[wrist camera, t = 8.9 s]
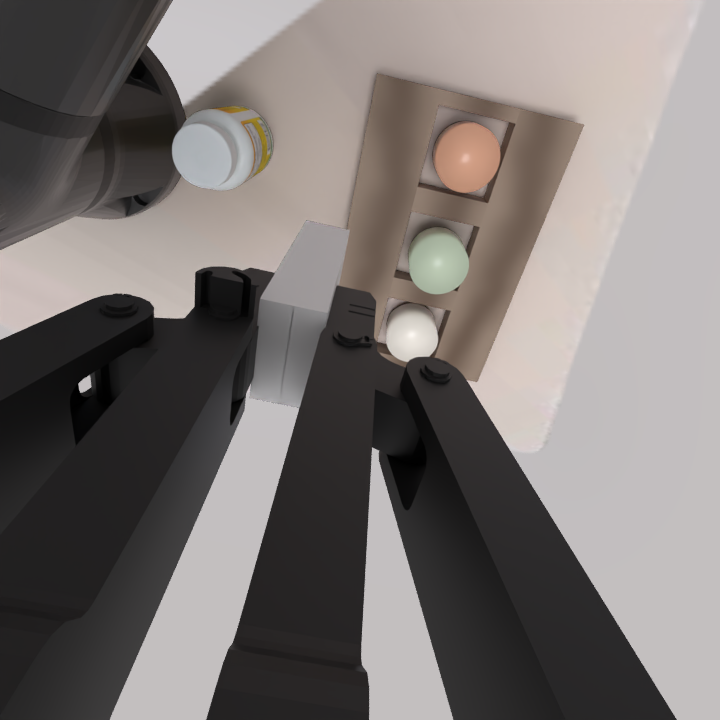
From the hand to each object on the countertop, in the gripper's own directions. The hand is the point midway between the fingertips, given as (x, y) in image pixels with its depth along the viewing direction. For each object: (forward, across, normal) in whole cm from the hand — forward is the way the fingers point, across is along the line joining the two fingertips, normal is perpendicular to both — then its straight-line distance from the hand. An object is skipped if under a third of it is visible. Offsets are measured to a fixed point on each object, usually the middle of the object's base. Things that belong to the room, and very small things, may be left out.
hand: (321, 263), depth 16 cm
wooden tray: (+26, +8, -6) cm, 28 cm away
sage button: (+24, +8, -6) cm, 26 cm away
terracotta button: (+26, +8, +2) cm, 27 cm away
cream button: (+26, +8, -14) cm, 30 cm away
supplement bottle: (+27, -10, -1) cm, 28 cm away
